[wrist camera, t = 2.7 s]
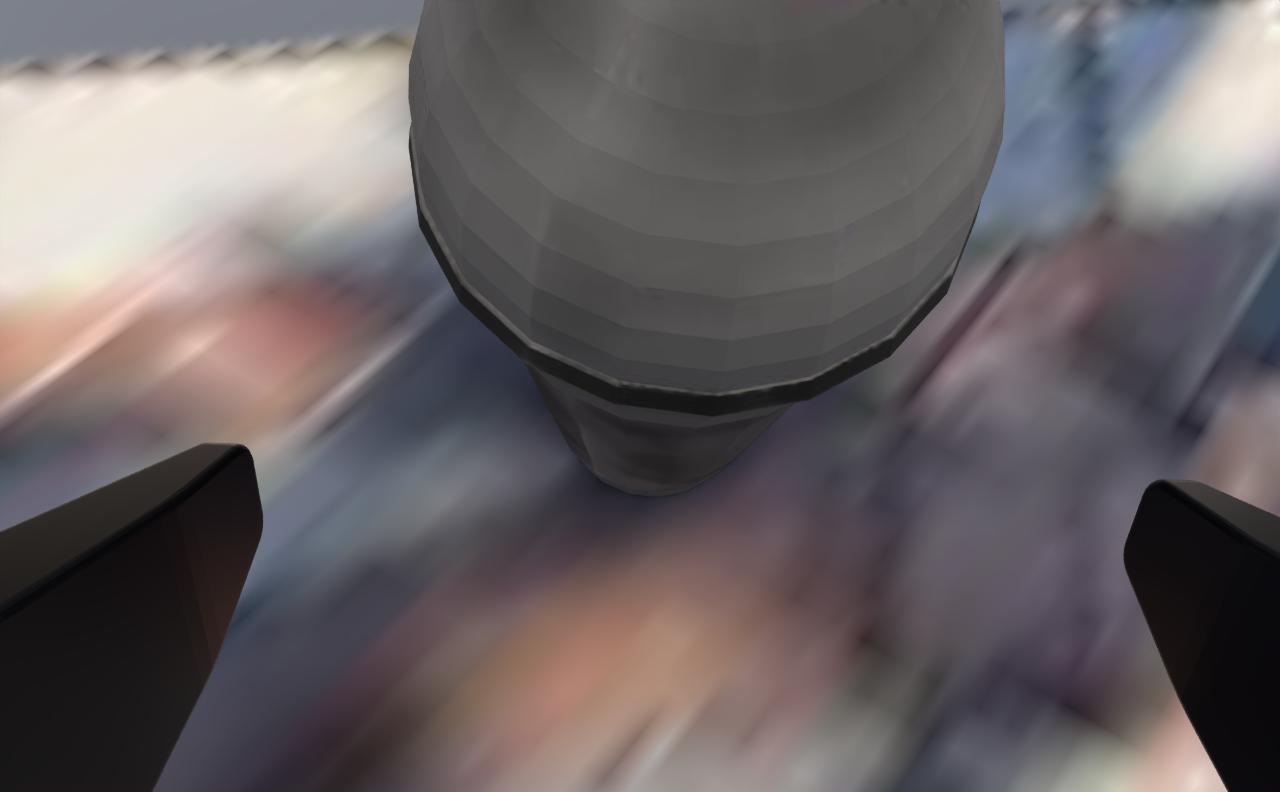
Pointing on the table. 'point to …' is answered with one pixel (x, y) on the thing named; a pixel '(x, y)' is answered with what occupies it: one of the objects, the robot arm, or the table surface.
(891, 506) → the table surface
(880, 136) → the beverage cup
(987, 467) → the table surface
